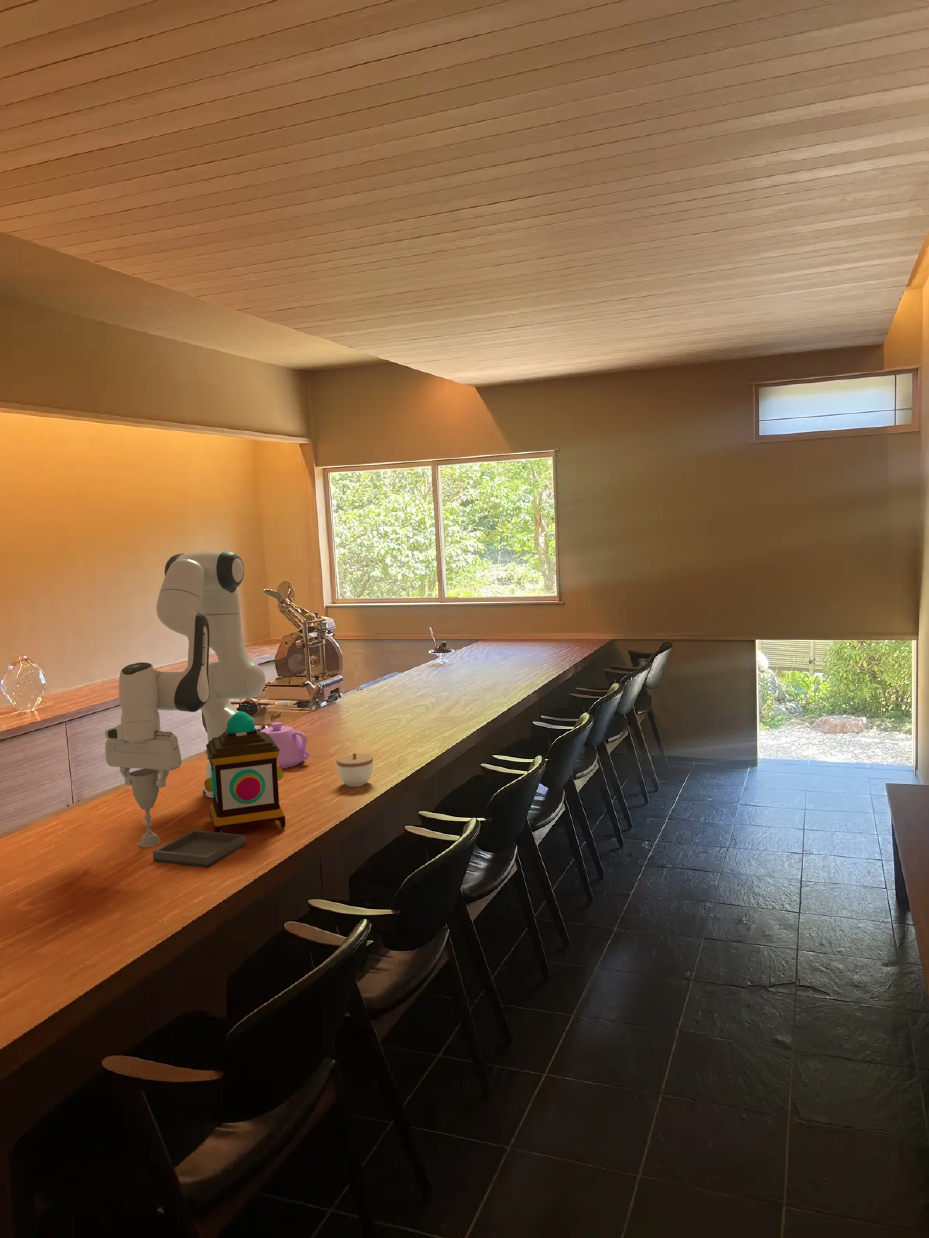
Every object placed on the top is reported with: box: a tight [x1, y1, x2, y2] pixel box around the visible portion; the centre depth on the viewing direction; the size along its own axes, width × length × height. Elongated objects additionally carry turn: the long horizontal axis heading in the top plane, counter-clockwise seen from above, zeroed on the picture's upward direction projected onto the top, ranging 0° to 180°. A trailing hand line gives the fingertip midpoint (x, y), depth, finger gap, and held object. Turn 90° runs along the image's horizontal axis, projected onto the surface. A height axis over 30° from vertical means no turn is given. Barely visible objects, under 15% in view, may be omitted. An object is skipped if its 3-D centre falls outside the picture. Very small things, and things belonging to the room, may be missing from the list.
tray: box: [152, 829, 247, 869], centre depth 204 cm, size 15×15×2 cm
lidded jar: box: [336, 752, 374, 788], centre depth 257 cm, size 11×11×9 cm
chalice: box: [129, 769, 161, 848], centre depth 212 cm, size 7×7×18 cm
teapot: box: [259, 721, 311, 770], centre depth 285 cm, size 25×18×14 cm
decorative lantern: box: [204, 710, 286, 833], centre depth 222 cm, size 20×20×30 cm
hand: (145, 785), depth 211 cm, fingers open, 8 cm apart
